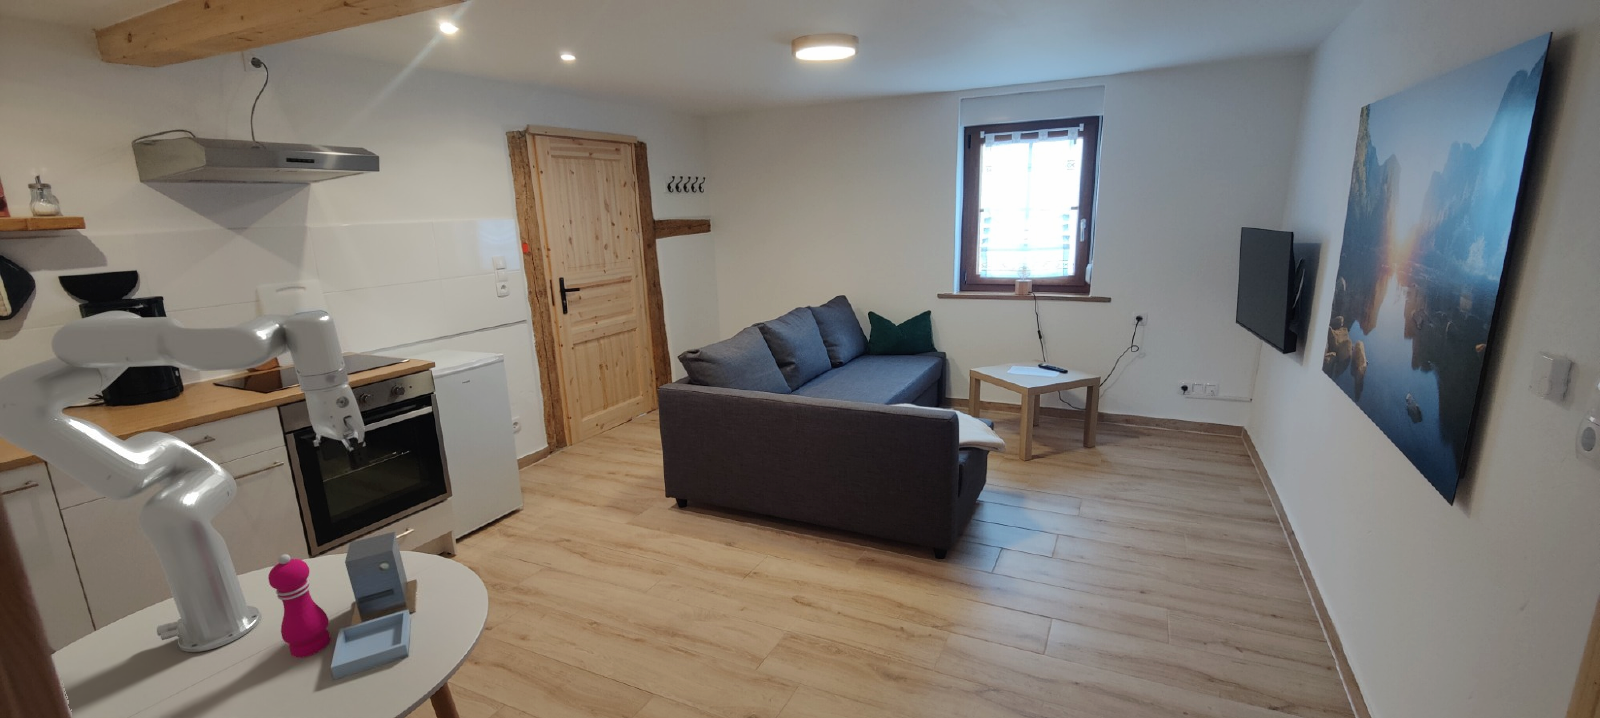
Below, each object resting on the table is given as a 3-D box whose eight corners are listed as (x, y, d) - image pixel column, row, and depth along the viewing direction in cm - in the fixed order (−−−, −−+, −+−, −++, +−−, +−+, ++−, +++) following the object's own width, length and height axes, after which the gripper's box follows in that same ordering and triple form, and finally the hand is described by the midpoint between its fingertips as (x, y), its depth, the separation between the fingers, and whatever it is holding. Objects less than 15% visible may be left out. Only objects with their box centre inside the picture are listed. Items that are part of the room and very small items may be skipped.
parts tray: (334, 679, 119) (330, 667, 118) (342, 640, 129) (339, 629, 128) (408, 656, 124) (405, 644, 123) (411, 620, 134) (408, 609, 133)
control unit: (352, 629, 132) (334, 568, 128) (358, 599, 141) (342, 541, 137) (415, 611, 137) (400, 551, 132) (417, 583, 146) (403, 526, 142)
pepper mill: (310, 661, 124) (281, 568, 118) (278, 657, 125) (247, 564, 119) (343, 635, 130) (316, 545, 125) (312, 631, 132) (284, 542, 126)
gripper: (370, 378, 124) (391, 462, 129) (321, 368, 133) (342, 447, 138) (326, 391, 118) (350, 479, 123) (278, 379, 126) (302, 462, 131)
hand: (346, 462), depth 130 cm, fingers open, 9 cm apart
